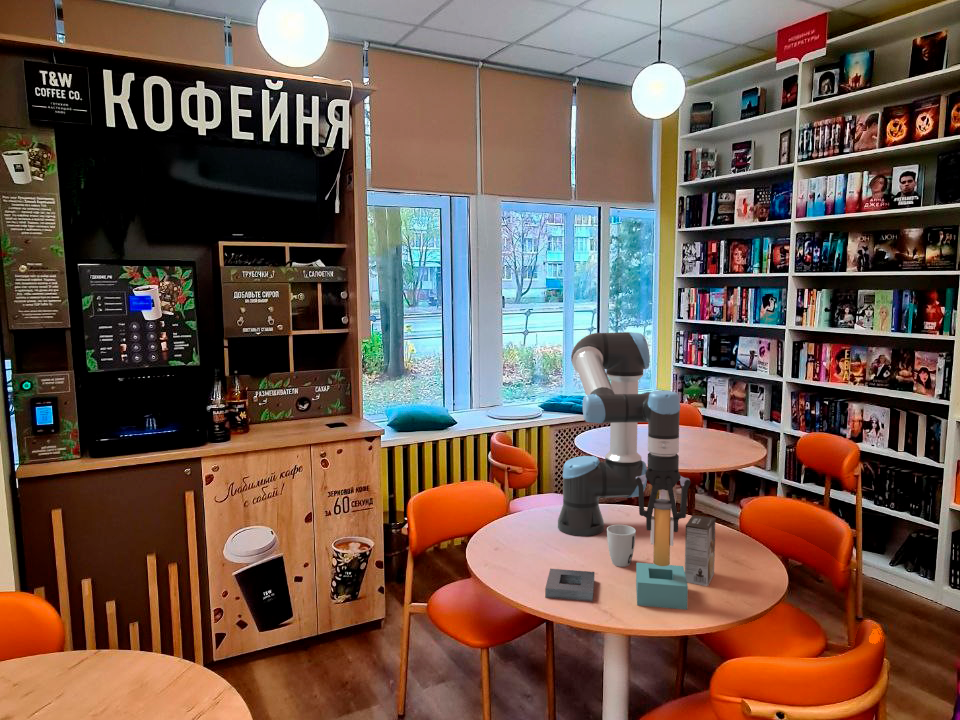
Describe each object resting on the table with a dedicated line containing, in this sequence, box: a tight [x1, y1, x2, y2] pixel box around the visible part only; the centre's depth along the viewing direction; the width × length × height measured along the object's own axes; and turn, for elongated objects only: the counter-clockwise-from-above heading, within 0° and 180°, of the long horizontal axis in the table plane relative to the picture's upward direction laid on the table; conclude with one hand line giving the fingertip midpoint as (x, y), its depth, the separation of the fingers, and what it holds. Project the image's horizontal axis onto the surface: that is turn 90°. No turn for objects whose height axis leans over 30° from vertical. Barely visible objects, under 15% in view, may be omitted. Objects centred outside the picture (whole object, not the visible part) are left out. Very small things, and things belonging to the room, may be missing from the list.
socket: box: [635, 562, 689, 610], centre depth 168 cm, size 12×12×6 cm
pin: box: [652, 498, 672, 566], centre depth 166 cm, size 5×5×16 cm
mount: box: [545, 568, 595, 602], centre depth 173 cm, size 12×12×2 cm
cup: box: [606, 524, 637, 568], centre depth 188 cm, size 8×8×10 cm
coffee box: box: [684, 514, 716, 587], centre depth 177 cm, size 9×6×16 cm
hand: (661, 542), depth 166 cm, fingers closed on pin, 4 cm apart
